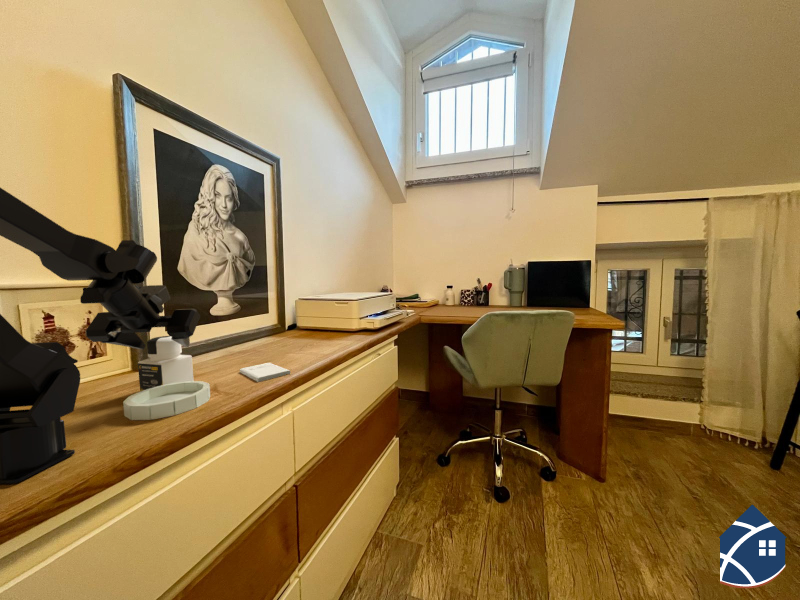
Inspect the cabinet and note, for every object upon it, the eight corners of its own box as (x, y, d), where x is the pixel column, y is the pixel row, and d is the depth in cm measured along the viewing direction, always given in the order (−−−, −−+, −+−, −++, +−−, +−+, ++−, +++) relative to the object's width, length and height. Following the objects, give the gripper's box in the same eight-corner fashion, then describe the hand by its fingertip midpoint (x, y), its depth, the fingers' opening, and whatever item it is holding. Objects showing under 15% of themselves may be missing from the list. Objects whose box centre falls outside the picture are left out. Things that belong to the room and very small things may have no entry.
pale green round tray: (176, 419, 52) (175, 405, 52) (105, 420, 52) (103, 406, 52) (223, 391, 65) (222, 380, 65) (165, 392, 65) (164, 381, 65)
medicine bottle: (139, 393, 66) (134, 339, 65) (172, 382, 72) (168, 333, 72) (162, 396, 64) (158, 340, 63) (194, 384, 70) (191, 334, 70)
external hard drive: (257, 384, 71) (239, 374, 80) (290, 376, 77) (270, 367, 86) (257, 377, 71) (239, 368, 80) (290, 370, 77) (270, 361, 85)
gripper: (192, 270, 63) (219, 316, 74) (92, 273, 60) (136, 320, 72) (172, 311, 56) (206, 355, 67) (57, 316, 53) (113, 361, 65)
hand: (166, 346), depth 68 cm, fingers open, 9 cm apart
